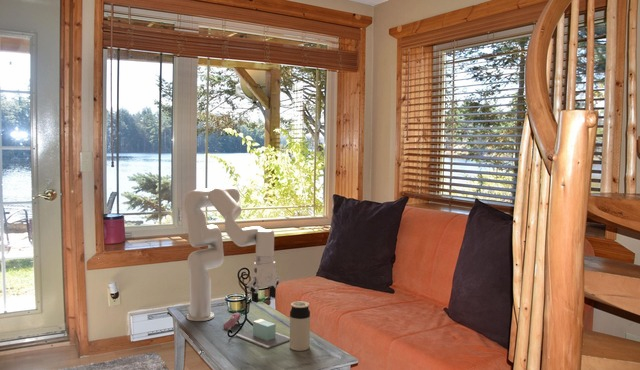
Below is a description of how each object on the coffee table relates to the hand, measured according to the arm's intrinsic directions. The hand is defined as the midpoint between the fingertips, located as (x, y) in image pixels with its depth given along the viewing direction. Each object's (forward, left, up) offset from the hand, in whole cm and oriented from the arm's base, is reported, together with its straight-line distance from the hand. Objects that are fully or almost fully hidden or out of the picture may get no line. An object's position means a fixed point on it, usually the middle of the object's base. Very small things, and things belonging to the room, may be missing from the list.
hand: (263, 299), depth 232 cm
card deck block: (0, 0, -16) cm, 16 cm away
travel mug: (+18, +3, -17) cm, 25 cm away
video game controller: (-21, 0, -17) cm, 27 cm away
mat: (0, 0, -17) cm, 16 cm away
